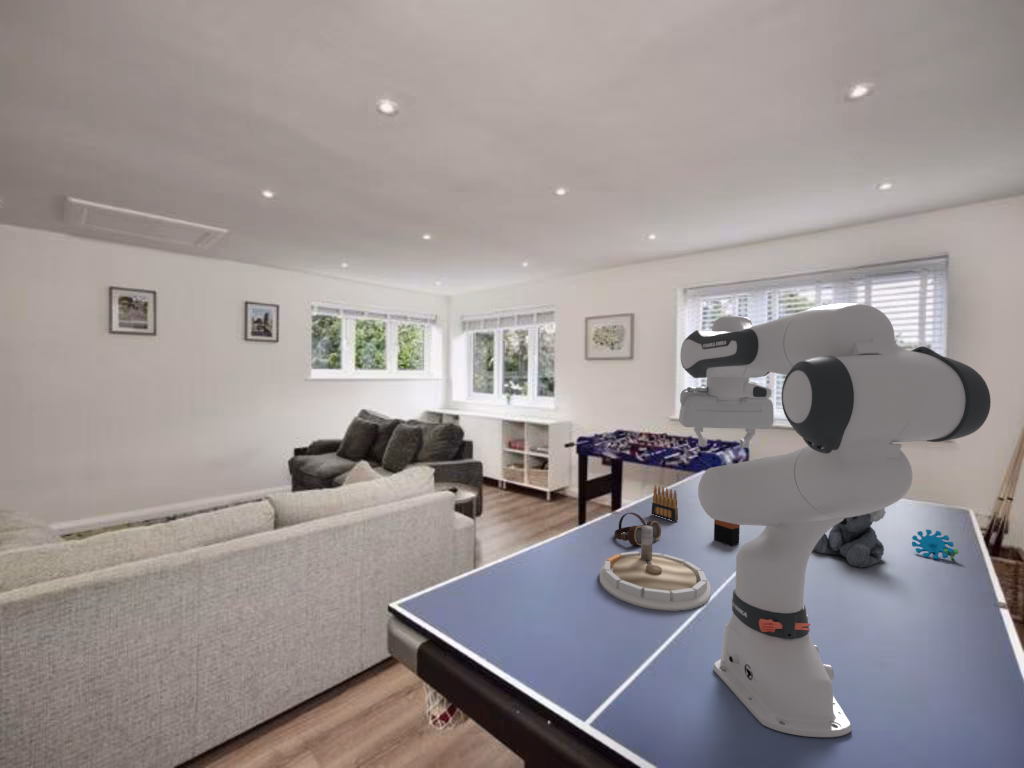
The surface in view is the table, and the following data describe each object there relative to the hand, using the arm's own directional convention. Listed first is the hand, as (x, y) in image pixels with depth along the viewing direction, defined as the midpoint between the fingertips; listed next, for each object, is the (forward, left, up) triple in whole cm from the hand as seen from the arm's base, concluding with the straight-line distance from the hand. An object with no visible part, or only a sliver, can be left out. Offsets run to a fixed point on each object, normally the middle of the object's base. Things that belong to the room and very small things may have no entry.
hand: (723, 446), depth 109 cm
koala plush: (+39, -55, -39) cm, 78 cm away
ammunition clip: (+71, -6, -39) cm, 81 cm away
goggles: (+47, +10, -39) cm, 62 cm away
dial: (+13, +12, -37) cm, 41 cm away
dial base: (+13, +12, -39) cm, 43 cm away
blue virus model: (+41, -81, -39) cm, 99 cm away
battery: (+47, -20, -39) cm, 64 cm away
